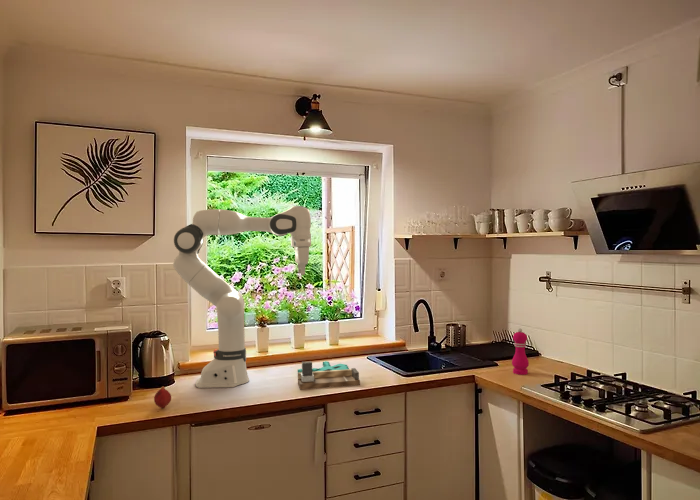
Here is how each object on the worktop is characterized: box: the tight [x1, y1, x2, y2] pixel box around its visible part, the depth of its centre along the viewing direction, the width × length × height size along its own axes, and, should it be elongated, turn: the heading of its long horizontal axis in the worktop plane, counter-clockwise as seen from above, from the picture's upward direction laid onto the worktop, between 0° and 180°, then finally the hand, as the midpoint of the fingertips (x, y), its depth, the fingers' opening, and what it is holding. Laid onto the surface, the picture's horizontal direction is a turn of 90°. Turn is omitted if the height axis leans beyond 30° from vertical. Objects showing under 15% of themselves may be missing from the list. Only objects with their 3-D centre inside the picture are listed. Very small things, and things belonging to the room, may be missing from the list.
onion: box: [153, 386, 172, 409], centre depth 190 cm, size 6×6×8 cm
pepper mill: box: [511, 327, 530, 376], centre depth 232 cm, size 7×7×20 cm
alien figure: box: [297, 360, 350, 374], centre depth 239 cm, size 20×2×20 cm
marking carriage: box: [300, 360, 315, 382], centre depth 217 cm, size 6×6×7 cm
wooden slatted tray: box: [297, 367, 361, 390], centre depth 219 cm, size 25×10×5 cm, turn 101°
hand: (301, 273), depth 229 cm, fingers open, 8 cm apart
